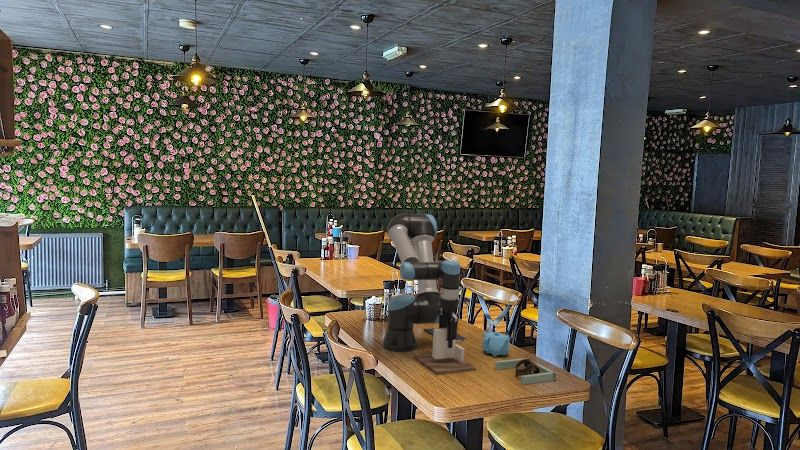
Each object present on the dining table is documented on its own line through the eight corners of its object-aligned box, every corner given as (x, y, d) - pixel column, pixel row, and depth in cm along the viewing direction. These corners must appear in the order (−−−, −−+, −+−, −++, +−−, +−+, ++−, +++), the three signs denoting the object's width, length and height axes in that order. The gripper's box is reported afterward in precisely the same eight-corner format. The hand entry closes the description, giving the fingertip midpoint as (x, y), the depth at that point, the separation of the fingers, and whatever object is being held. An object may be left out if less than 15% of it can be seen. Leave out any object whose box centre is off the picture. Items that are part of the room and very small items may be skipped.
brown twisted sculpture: (543, 383, 219) (535, 366, 217) (521, 390, 221) (512, 374, 219) (541, 366, 230) (533, 349, 228) (519, 373, 232) (511, 357, 231)
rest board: (412, 357, 241) (412, 355, 241) (449, 354, 249) (449, 351, 248) (436, 374, 221) (436, 372, 221) (475, 370, 229) (476, 367, 229)
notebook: (423, 332, 285) (443, 344, 265) (424, 329, 284) (443, 340, 265) (446, 330, 290) (467, 342, 270) (446, 327, 290) (467, 338, 270)
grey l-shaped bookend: (426, 353, 239) (428, 325, 238) (448, 351, 243) (449, 324, 242) (441, 363, 227) (443, 333, 226) (463, 360, 231) (465, 332, 230)
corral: (495, 368, 232) (495, 361, 232) (525, 364, 238) (526, 358, 238) (523, 384, 215) (523, 377, 214) (555, 380, 221) (556, 372, 221)
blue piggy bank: (472, 350, 256) (473, 328, 255) (496, 346, 263) (497, 325, 262) (497, 362, 241) (498, 339, 240) (522, 358, 247) (523, 335, 247)
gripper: (432, 294, 239) (429, 348, 241) (450, 302, 224) (447, 360, 226) (447, 293, 242) (445, 347, 244) (467, 301, 227) (464, 358, 229)
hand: (446, 353), depth 235 cm, fingers closed on grey l-shaped bookend, 3 cm apart
